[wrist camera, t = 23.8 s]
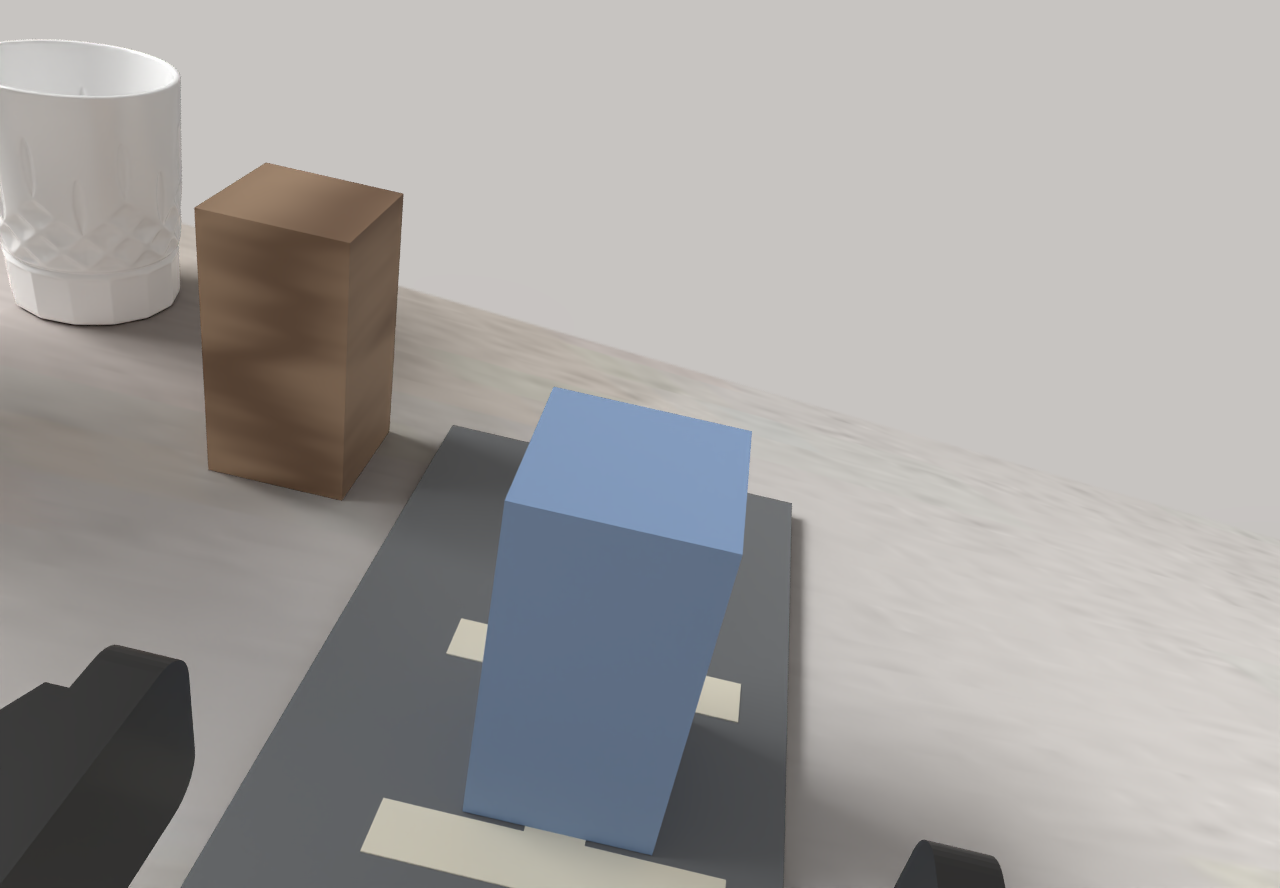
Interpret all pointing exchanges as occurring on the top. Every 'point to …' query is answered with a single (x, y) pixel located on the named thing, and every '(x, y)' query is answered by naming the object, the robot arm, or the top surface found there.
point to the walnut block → (297, 326)
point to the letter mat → (445, 714)
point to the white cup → (89, 180)
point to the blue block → (604, 616)
